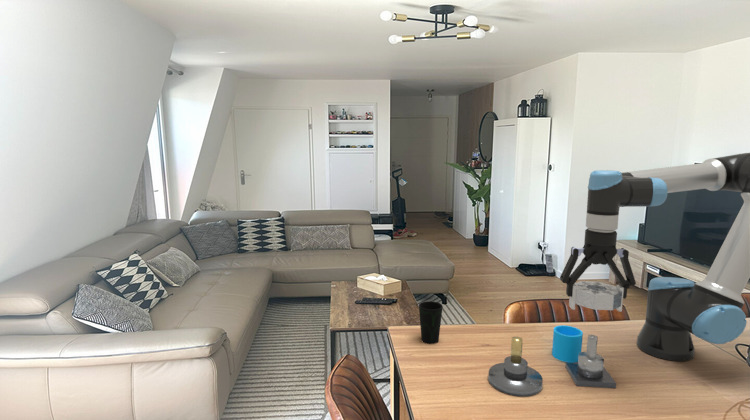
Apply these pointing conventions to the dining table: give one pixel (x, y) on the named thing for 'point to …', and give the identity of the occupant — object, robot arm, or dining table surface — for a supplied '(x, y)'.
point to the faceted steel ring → (598, 295)
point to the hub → (515, 374)
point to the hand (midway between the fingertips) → (594, 308)
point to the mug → (567, 343)
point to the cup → (430, 321)
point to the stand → (590, 368)
